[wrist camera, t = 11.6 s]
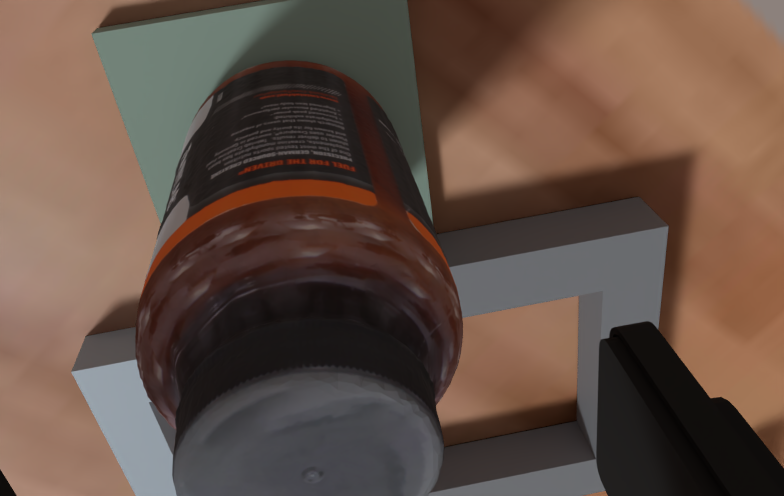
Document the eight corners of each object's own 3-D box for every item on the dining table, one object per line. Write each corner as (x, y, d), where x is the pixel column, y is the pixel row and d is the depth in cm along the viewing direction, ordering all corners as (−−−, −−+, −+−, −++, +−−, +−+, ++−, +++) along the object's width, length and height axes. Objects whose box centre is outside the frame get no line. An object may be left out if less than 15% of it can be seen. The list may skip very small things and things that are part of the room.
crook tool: (356, 548, 30) (360, 586, 28) (204, 579, 30) (200, 619, 28) (289, 296, 23) (289, 330, 21) (86, 335, 22) (71, 371, 21)
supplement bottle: (138, 126, 18) (-15, 449, 9) (327, 9, 17) (390, 222, 8) (266, 278, 21) (257, 641, 12) (431, 186, 20) (568, 494, 11)
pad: (432, 235, 22) (435, 244, 21) (187, 280, 22) (185, 291, 21) (401, -23, 18) (404, -19, 17) (97, 28, 17) (91, 33, 17)
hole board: (621, 444, 29) (643, 482, 27) (343, 501, 28) (347, 543, 26) (639, 196, 22) (668, 226, 21) (280, 263, 22) (279, 299, 20)
